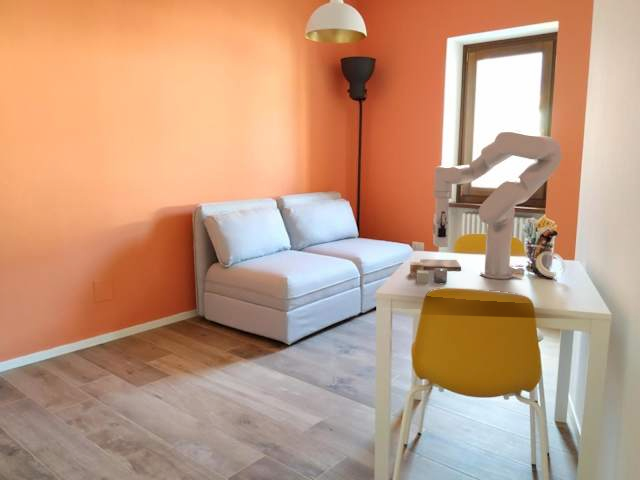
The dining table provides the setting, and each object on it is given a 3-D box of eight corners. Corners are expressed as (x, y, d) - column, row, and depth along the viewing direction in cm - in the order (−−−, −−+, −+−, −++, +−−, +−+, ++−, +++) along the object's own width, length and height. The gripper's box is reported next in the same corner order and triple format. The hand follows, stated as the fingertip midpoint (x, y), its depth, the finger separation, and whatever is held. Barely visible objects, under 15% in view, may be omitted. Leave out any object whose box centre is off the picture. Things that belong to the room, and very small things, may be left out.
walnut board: (456, 263, 236) (456, 259, 235) (461, 270, 222) (461, 266, 222) (420, 262, 237) (420, 259, 237) (423, 269, 224) (423, 266, 224)
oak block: (422, 274, 217) (422, 262, 216) (423, 277, 212) (423, 265, 211) (409, 273, 217) (410, 262, 216) (410, 276, 212) (410, 264, 211)
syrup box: (448, 247, 225) (450, 214, 223) (434, 247, 226) (436, 213, 223) (445, 244, 231) (447, 212, 228) (432, 244, 231) (433, 212, 228)
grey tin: (445, 280, 206) (446, 268, 205) (447, 283, 201) (448, 271, 200) (433, 280, 206) (433, 267, 206) (434, 283, 202) (434, 270, 201)
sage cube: (426, 280, 206) (427, 270, 205) (427, 283, 202) (428, 273, 202) (416, 280, 207) (416, 270, 206) (417, 282, 203) (417, 272, 202)
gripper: (431, 192, 233) (430, 232, 236) (436, 196, 216) (434, 239, 219) (448, 193, 232) (447, 232, 235) (454, 196, 215) (452, 239, 219)
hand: (440, 235), depth 227 cm, fingers closed on syrup box, 6 cm apart
